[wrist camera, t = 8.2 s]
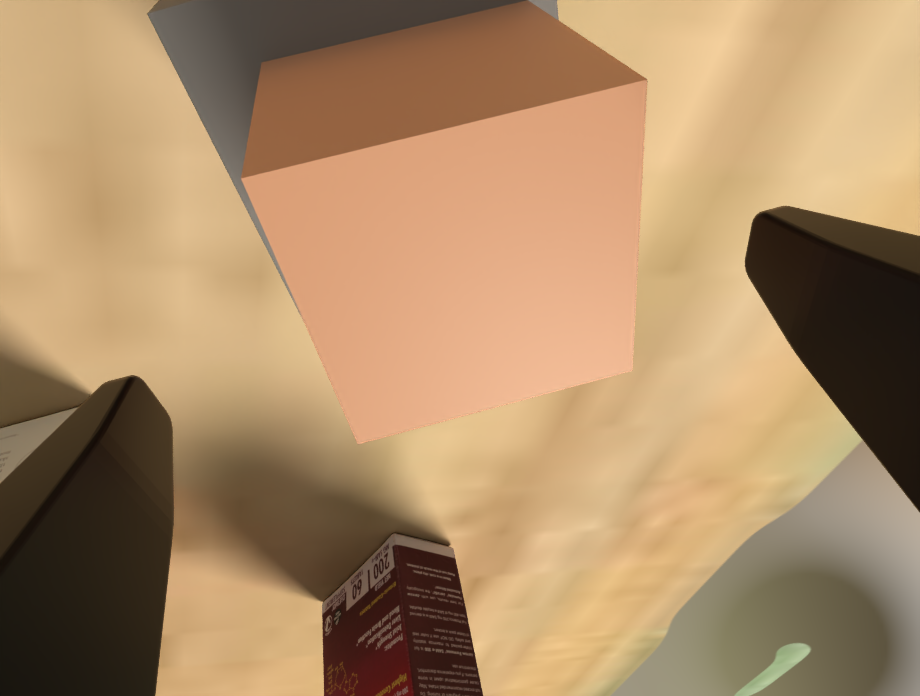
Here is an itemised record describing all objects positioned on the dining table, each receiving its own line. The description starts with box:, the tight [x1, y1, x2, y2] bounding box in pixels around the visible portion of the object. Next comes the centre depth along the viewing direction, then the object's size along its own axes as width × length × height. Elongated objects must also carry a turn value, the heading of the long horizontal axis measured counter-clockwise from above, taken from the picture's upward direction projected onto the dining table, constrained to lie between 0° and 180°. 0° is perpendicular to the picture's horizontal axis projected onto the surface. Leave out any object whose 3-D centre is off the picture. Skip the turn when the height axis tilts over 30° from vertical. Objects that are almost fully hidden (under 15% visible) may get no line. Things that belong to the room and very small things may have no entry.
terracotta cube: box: [241, 0, 647, 444], centre depth 11 cm, size 5×5×5 cm
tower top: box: [147, 0, 559, 319], centre depth 14 cm, size 7×7×4 cm
